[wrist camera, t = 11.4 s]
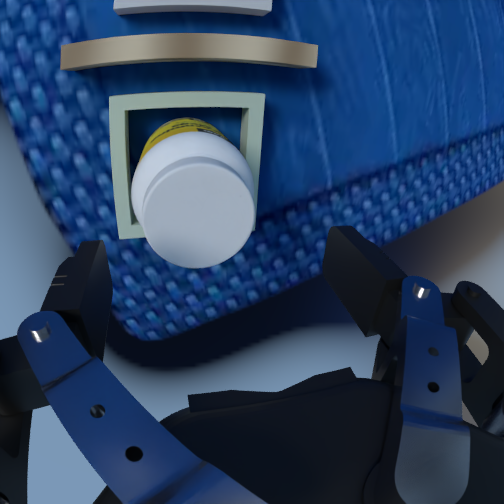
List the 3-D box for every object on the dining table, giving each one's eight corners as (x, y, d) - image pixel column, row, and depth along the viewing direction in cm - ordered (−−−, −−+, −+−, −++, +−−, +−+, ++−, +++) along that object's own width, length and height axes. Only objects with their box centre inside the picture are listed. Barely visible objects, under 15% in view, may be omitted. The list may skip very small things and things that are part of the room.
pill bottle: (232, 119, 21) (286, 150, 12) (222, 199, 24) (263, 282, 15) (144, 115, 20) (123, 142, 10) (141, 198, 22) (127, 285, 13)
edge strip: (300, 48, 20) (318, 45, 17) (298, 68, 20) (316, 67, 18) (74, 49, 16) (61, 45, 13) (73, 70, 16) (60, 69, 14)
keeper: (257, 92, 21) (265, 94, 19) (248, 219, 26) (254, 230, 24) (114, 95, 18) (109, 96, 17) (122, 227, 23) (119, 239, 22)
